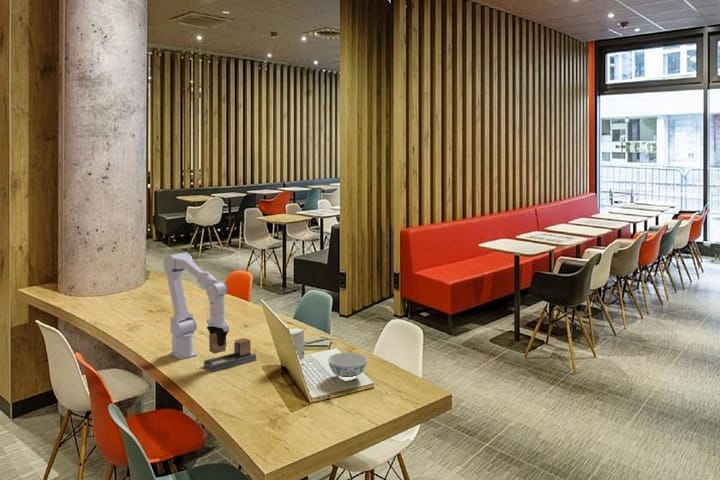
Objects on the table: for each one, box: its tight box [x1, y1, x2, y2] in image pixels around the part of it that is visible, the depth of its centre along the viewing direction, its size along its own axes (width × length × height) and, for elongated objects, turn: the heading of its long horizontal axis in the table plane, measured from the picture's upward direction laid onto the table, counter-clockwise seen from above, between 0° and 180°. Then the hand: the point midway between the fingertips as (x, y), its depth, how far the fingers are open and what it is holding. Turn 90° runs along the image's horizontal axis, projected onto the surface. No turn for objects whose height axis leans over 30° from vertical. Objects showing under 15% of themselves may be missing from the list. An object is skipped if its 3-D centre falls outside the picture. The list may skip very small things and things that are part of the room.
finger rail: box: [203, 337, 257, 373], centre depth 241 cm, size 8×20×8 cm, turn 133°
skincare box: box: [288, 327, 305, 360], centre depth 239 cm, size 8×6×15 cm
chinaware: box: [327, 352, 368, 377], centre depth 227 cm, size 15×15×8 cm
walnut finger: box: [208, 333, 227, 355], centre depth 237 cm, size 4×6×7 cm
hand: (218, 344), depth 237 cm, fingers closed on walnut finger, 4 cm apart
